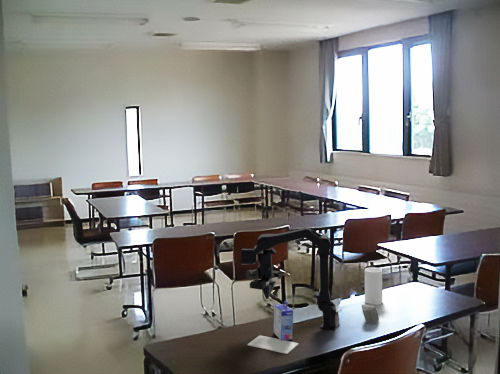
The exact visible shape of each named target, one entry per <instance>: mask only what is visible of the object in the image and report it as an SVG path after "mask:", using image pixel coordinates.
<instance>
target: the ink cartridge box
mask: <svg viewBox="0 0 500 374" xmlns="http://www.w3.org/2000/svg"><path fill="white" fill-rule="evenodd" d="M288 304H289V302H288V301H287V300H284V302H283V303H282V304H281V303H278V304H274V305H273V333H274V334H275V336H277V339H280V340H285V341H290V340H293V339H294V336H293V331H294V329H293V328H294V326H293V325H294V322H293V321H294V320H293V319H294V310H293V309H292V308H291V307H289V306H288Z"/></svg>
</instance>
